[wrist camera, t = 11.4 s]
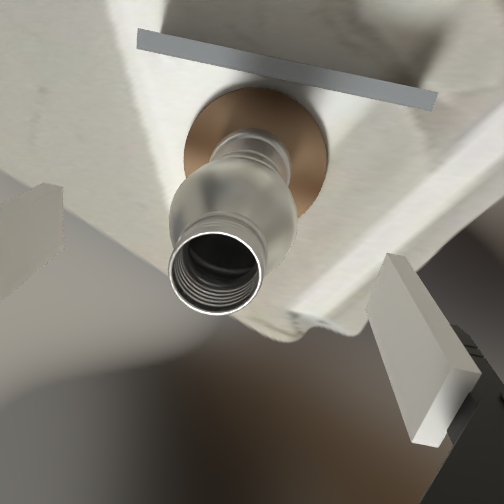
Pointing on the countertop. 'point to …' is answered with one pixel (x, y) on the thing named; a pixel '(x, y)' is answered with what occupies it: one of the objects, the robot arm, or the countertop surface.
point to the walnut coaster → (272, 120)
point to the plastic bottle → (232, 223)
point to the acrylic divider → (285, 70)
